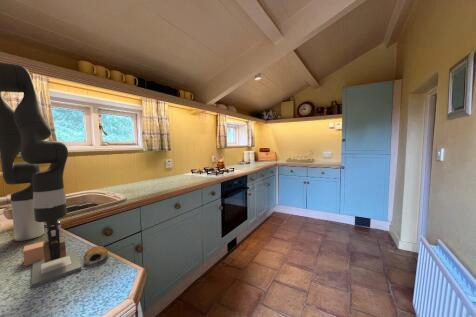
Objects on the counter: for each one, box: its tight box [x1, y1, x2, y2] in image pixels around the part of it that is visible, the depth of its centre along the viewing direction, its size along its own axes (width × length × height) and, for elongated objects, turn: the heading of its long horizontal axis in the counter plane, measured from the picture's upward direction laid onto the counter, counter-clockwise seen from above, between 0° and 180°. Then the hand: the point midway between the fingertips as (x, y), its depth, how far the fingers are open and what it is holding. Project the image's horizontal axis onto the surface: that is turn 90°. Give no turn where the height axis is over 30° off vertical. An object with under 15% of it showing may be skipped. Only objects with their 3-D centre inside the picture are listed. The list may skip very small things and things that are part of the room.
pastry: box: [83, 245, 109, 266], centre depth 70 cm, size 9×7×4 cm
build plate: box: [30, 249, 82, 289], centre depth 64 cm, size 16×11×1 cm
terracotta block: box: [22, 240, 45, 266], centre depth 69 cm, size 5×5×5 cm
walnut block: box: [42, 236, 67, 263], centre depth 64 cm, size 5×5×5 cm
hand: (55, 255), depth 64 cm, fingers closed on walnut block, 5 cm apart
